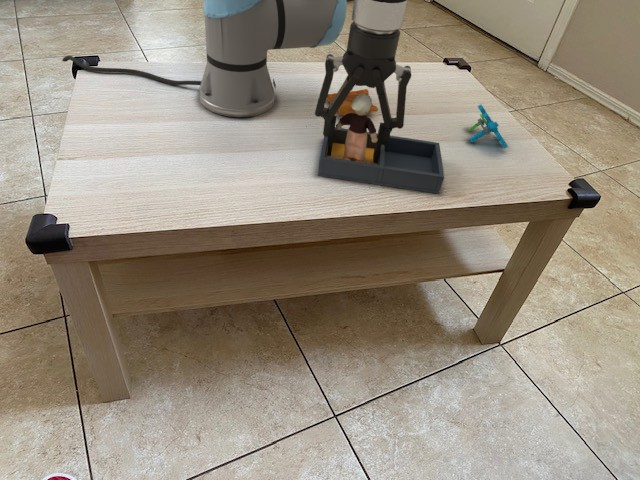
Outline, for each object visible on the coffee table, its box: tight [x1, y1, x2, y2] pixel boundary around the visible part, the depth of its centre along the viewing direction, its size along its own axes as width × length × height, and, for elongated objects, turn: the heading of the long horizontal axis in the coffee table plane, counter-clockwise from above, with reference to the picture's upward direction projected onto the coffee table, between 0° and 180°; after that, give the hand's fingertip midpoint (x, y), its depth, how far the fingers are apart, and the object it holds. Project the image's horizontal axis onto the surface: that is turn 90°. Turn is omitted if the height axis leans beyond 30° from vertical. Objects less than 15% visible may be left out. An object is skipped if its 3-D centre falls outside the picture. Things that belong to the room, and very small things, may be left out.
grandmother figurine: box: [335, 94, 378, 163], centre depth 83 cm, size 8×4×13 cm, turn 77°
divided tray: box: [317, 126, 445, 195], centre depth 87 cm, size 21×11×4 cm, turn 84°
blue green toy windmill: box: [468, 104, 508, 150], centre depth 97 cm, size 11×6×10 cm
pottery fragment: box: [326, 88, 379, 116], centre depth 103 cm, size 10×5×10 cm
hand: (352, 154), depth 87 cm, fingers open, 8 cm apart
